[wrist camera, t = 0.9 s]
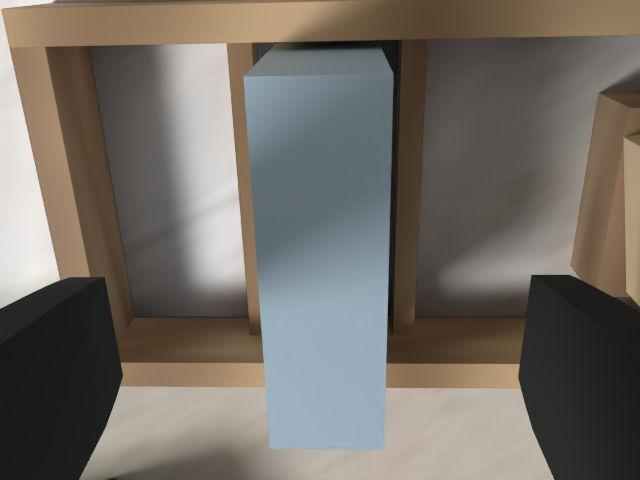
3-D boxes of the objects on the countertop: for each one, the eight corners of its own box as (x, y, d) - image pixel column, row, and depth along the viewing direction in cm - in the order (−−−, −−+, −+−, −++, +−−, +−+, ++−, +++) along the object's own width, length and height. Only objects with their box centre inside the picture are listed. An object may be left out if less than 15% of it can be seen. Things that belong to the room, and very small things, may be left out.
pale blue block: (376, 37, 16) (393, 73, 10) (372, 310, 19) (384, 449, 13) (279, 40, 16) (243, 76, 10) (291, 310, 19) (269, 448, 13)
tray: (850, -15, 15) (939, -13, 12) (742, 340, 19) (795, 389, 16) (50, 3, 15) (1, 8, 13) (113, 339, 19) (83, 386, 17)
